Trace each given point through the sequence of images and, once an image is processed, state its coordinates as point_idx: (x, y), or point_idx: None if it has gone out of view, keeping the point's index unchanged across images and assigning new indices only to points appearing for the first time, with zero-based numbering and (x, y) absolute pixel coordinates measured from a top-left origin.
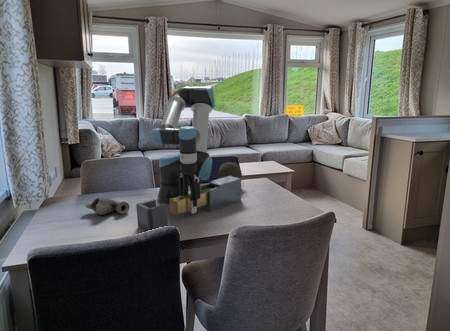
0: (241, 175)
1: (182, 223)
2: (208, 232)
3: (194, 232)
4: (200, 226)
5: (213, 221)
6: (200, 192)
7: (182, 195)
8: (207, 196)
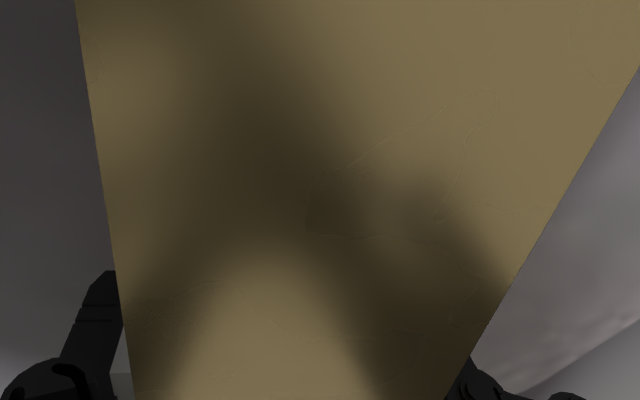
0: None
1: None
2: (615, 306)
3: (521, 352)
4: (521, 287)
5: (602, 158)
6: (410, 198)
7: None
8: None
